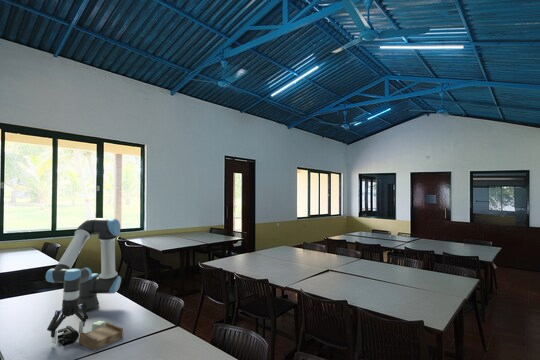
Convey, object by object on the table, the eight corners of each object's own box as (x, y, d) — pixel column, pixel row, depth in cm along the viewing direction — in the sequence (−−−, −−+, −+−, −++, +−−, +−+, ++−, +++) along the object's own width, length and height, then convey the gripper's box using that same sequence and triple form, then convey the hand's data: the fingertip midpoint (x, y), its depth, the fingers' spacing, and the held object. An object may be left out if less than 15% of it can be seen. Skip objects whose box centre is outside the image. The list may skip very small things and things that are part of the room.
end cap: (78, 342, 163) (79, 329, 164) (63, 346, 158) (64, 333, 158) (71, 336, 169) (72, 324, 170) (56, 340, 164) (57, 328, 164)
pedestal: (107, 331, 176) (107, 322, 176) (122, 338, 169) (122, 328, 170) (78, 343, 162) (79, 332, 162) (94, 350, 155) (95, 339, 156)
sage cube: (98, 328, 180) (98, 320, 180) (105, 330, 179) (105, 321, 179) (91, 332, 175) (92, 323, 175) (98, 333, 174) (99, 324, 174)
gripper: (89, 291, 178) (86, 328, 176) (41, 303, 156) (37, 345, 154) (97, 293, 174) (94, 331, 173) (49, 306, 152) (45, 349, 151)
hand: (67, 338), depth 163 cm, fingers open, 13 cm apart
